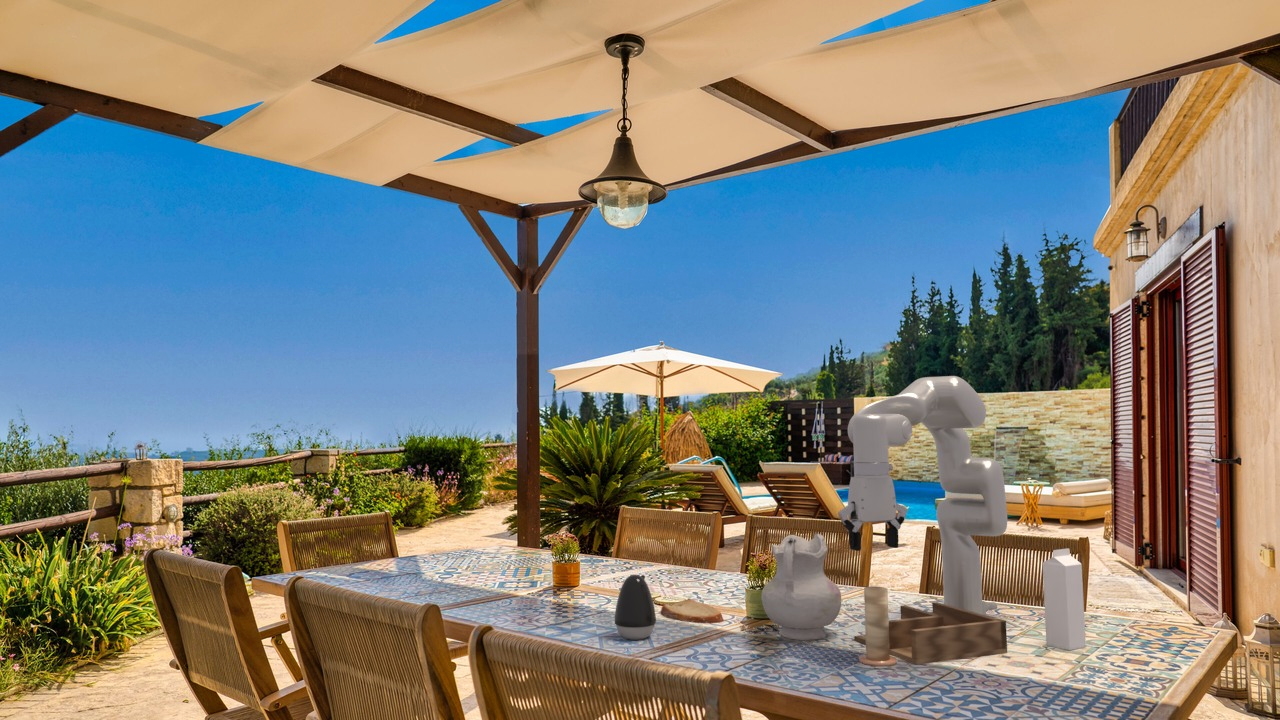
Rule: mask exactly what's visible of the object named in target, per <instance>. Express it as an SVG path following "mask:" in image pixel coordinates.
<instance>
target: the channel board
mask: <svg viewBox="0 0 1280 720" xmlns="http://www.w3.org/2000/svg"><path fill="white" fill-rule="evenodd" d="M931 604H932V612H929V611H926V610H923V609H919V608H915V607H913V606H909V605H906V604H905V605H900V606H899V607H900V609H899V610H900V619H893V620H889V649H890V656H893V657H895V658H899V659H902V660H904V661H906V662H909V663H911V664H914V665H924V664H930V663H931V664H932V663H940V662H946V661H947V662H948V661H954V660H962V659H970V658H977V657H978V658H979V657H985V656H993V655H994V656H995V655H1002V654H1007V653H1008V640H1007V639H1008V638H1007V621H1006V620H1003V619H999V618H997V617H996V618H995V617H992V616H990V615H989V616H986V615H982V614H978V613H975V612H971V611H967V610H964V609H960V608H957V607H953V606H949V605H946V604H944V603H942V602H939V601H936V602H935V601H934V602H932V603H931ZM853 640H854V641H855V642H857V643H860V644H862V645H865V646H866V636H865V634H860V635H853Z"/></svg>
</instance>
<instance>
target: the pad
mask: <svg viewBox="0 0 1280 720" xmlns="http://www.w3.org/2000/svg"><path fill="white" fill-rule="evenodd" d="M858 661H859V663H861V664H864V665H867V666H873V667H890V666H894V665H896V664H897V662H898V659H897V657H896V656H893V655H890V660H888V661H872V660H868V659H867V658H866V653H865V654H862V655H859V656H858Z"/></svg>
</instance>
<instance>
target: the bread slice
mask: <svg viewBox="0 0 1280 720" xmlns="http://www.w3.org/2000/svg"><path fill="white" fill-rule="evenodd" d="M660 613H661V615H662V616H663V617H664V618H665V617H666V618H668V619H672V620H675V621H680V622H685V623H686V622H687V623H695V624H717V623H718V624H719V623H723V622H724V621H725V620H724V617H723V615H722V612H721V611H720V610H719V609H717V608H715V607H714V606H711V605H708V604H706V603H703V602H700V601H696V600H694V599H691V598H690V597H689V598H687V599H683V600H680V601H678V602H675V603H672V604H670V605H669V604H667V603H664V604H663V605H662V607H661V610H660Z"/></svg>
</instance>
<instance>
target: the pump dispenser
mask: <svg viewBox="0 0 1280 720" xmlns="http://www.w3.org/2000/svg"><path fill="white" fill-rule="evenodd" d="M645 578H646V576H645V575H644V574H642V575H641V576H640V575H638V574H631V575H628V577H626V579H624V581H623V583H622V585H621V587H620V590H619V593H618V598H617V602H616V605H615V613H614V624H615V627H616V630H617V632H618V633H619V635H620V636H622V638H624V639H626V640H631V641H635V640H636V641H637V640H638V641H639V640H644V639H646V638H648V637H649V636H651V634H652V633H653V631H654V628H655V624H657V615H656V609H655V605H654V600H653V596H652V593H651V590H650V588H649V585H648V583H647V581H646V580H645Z"/></svg>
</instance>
